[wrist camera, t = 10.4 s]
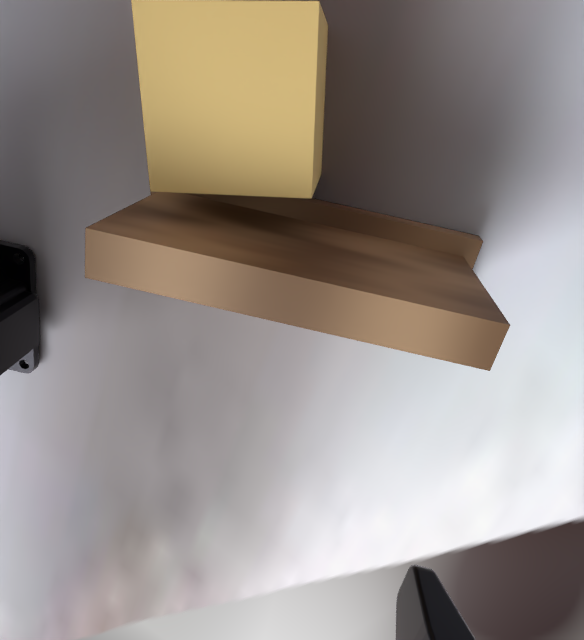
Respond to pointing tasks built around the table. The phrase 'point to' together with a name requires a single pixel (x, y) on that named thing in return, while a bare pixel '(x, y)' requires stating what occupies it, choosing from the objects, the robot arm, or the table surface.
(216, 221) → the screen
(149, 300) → the table surface
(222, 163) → the ochre block
